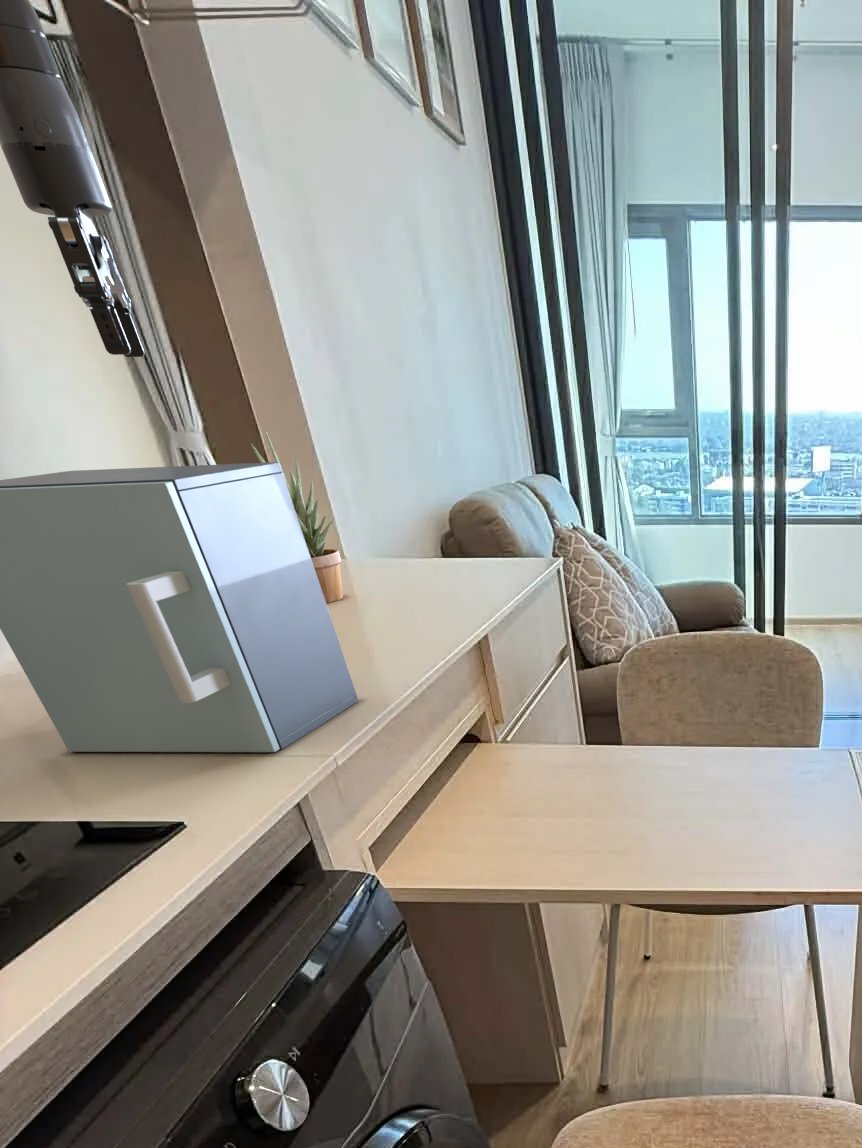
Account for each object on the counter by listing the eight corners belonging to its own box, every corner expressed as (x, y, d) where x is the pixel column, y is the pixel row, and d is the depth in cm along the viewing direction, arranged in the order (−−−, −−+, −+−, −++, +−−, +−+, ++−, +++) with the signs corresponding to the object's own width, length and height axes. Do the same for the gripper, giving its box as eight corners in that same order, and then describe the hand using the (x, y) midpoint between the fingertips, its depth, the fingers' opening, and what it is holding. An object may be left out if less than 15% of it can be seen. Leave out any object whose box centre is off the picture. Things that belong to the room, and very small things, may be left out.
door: (240, 774, 82) (115, 490, 68) (24, 772, 85) (-140, 500, 70) (280, 749, 87) (172, 481, 73) (76, 748, 90) (-67, 491, 76)
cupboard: (282, 749, 88) (173, 479, 73) (78, 749, 90) (-66, 488, 76) (358, 701, 100) (279, 461, 85) (177, 702, 103) (70, 470, 88)
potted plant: (286, 602, 150) (226, 433, 134) (336, 592, 155) (284, 428, 140) (312, 608, 144) (253, 433, 129) (364, 597, 150) (312, 428, 135)
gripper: (21, 160, 87) (102, 359, 97) (-23, 127, 76) (73, 354, 86) (104, 162, 89) (175, 357, 99) (72, 130, 79) (155, 352, 88)
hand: (127, 355), depth 93 cm, fingers open, 8 cm apart
